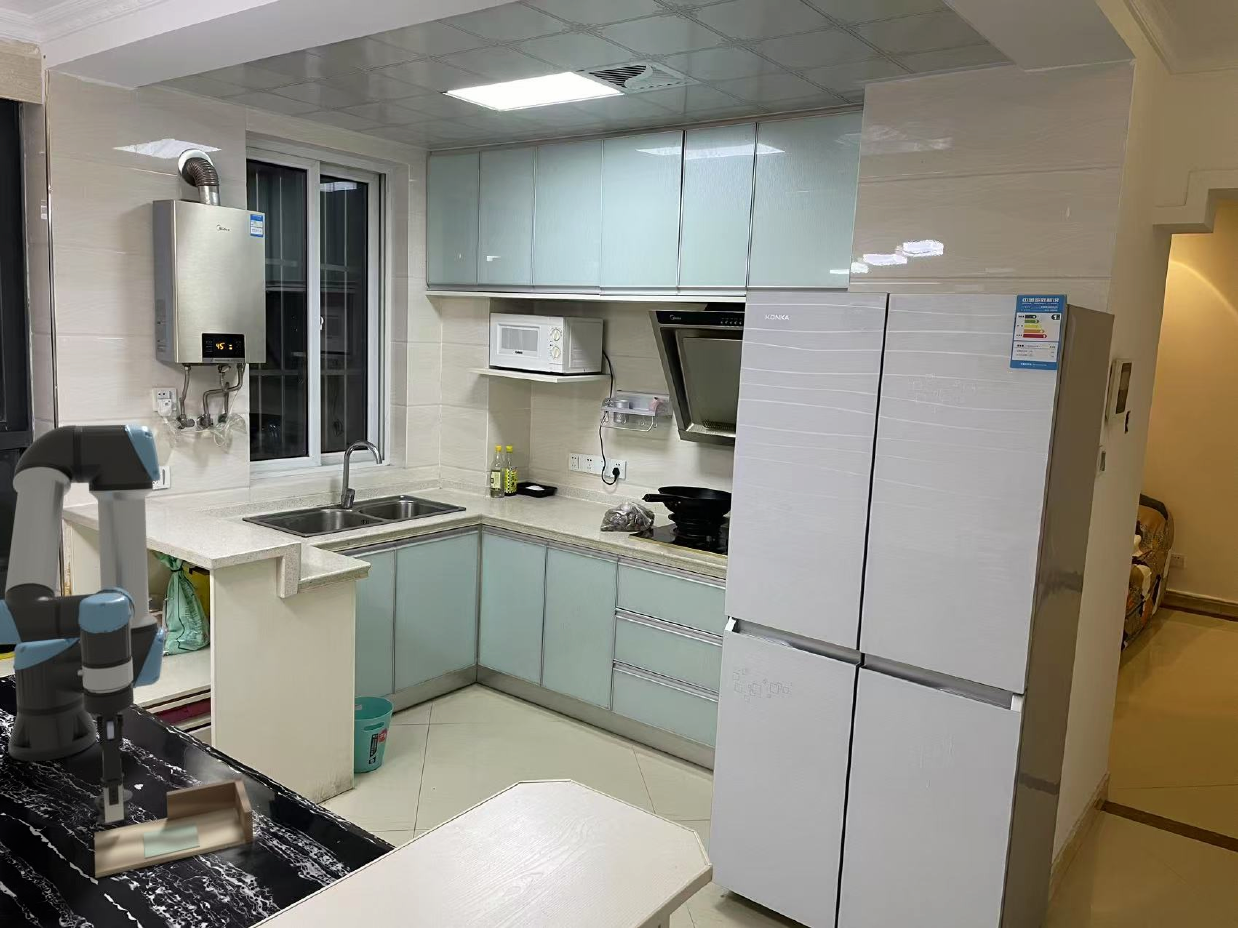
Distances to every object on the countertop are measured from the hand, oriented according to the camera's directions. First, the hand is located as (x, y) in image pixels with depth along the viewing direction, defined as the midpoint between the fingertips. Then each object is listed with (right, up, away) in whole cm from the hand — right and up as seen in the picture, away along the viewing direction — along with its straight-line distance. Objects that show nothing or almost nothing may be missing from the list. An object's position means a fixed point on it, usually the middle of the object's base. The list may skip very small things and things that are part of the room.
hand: (113, 801), depth 161 cm
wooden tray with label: (+14, -4, -6) cm, 15 cm away
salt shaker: (0, -3, 0) cm, 3 cm away
